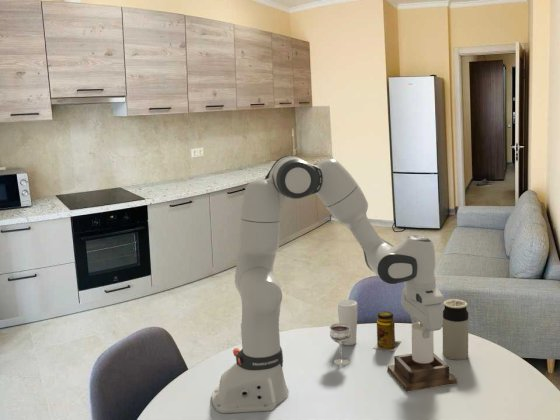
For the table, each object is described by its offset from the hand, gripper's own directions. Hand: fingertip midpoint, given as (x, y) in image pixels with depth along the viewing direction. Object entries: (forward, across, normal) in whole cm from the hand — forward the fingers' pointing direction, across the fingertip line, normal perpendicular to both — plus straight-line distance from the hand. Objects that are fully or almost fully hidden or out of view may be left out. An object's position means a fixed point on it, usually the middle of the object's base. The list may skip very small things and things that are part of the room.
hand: (420, 333), depth 162 cm
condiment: (+14, -24, -1) cm, 28 cm away
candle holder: (+14, 0, 0) cm, 14 cm away
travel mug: (+14, -10, +17) cm, 24 cm away
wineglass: (+14, -17, -20) cm, 30 cm away
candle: (+8, 0, 0) cm, 8 cm away
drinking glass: (+14, -30, -13) cm, 36 cm away
